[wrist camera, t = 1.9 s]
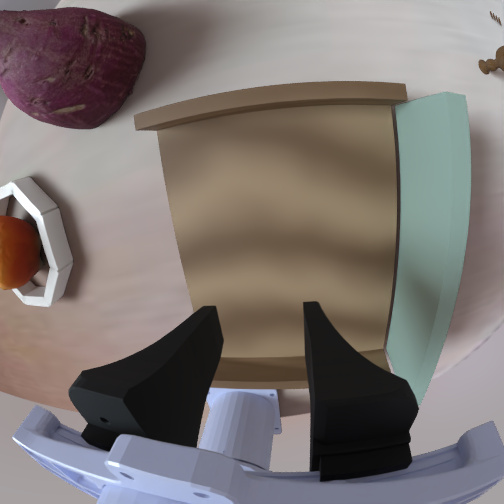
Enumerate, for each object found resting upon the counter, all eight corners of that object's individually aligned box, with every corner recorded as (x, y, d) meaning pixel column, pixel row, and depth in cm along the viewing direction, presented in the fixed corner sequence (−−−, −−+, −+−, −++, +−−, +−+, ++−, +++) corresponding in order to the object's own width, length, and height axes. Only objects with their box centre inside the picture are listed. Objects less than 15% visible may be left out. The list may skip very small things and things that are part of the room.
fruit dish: (86, 296, 26) (73, 308, 24) (22, 293, 28) (10, 302, 26) (50, 166, 21) (32, 170, 19) (-8, 195, 23) (-21, 200, 21)
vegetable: (85, 46, 19) (-18, -4, 4) (167, 22, 17) (56, -75, 2) (57, 138, 20) (-73, 117, 6) (134, 131, 18) (-46, 72, 4)
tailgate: (398, 346, 22) (420, 404, 15) (386, 348, 22) (405, 408, 15) (410, 106, 15) (465, 95, 8) (394, 105, 15) (445, 91, 8)
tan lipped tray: (378, 348, 23) (388, 379, 20) (212, 356, 26) (200, 386, 22) (383, 94, 16) (405, 83, 12) (162, 118, 18) (133, 115, 15)
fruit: (57, 294, 25) (-5, 310, 19) (42, 259, 29) (-10, 270, 22) (53, 226, 22) (-20, 238, 15) (40, 200, 25) (-18, 208, 19)
